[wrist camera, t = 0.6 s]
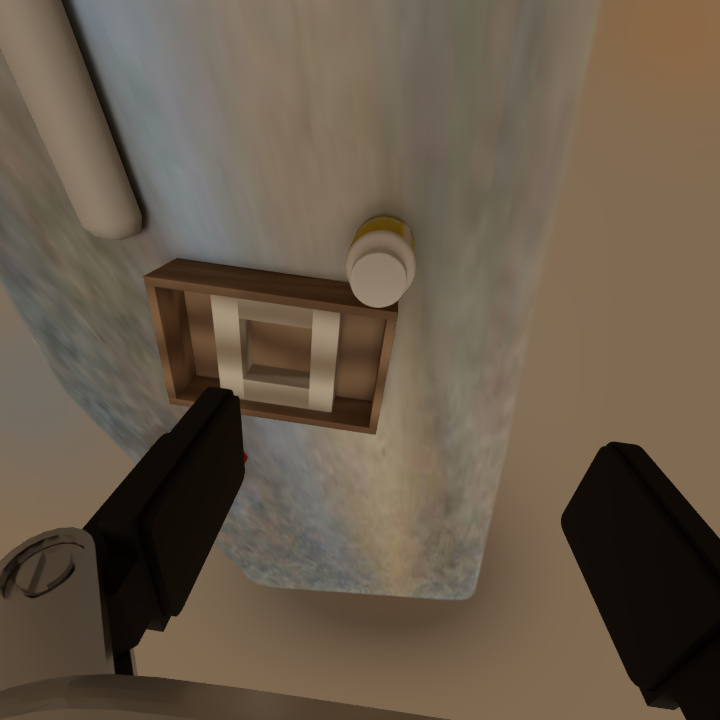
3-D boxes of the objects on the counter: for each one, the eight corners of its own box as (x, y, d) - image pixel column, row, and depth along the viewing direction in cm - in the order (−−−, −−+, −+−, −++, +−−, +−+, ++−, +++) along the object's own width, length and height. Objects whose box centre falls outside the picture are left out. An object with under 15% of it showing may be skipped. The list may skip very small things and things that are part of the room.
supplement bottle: (342, 240, 33) (323, 274, 25) (389, 200, 31) (385, 222, 23) (379, 285, 35) (372, 330, 27) (425, 250, 33) (434, 287, 25)
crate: (176, 258, 36) (143, 276, 31) (398, 289, 35) (398, 312, 31) (194, 375, 43) (169, 403, 38) (378, 402, 43) (375, 434, 38)
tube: (144, 242, 31) (-49, -258, 18) (77, 251, 31) (-174, -266, 18) (159, 230, 36) (12, -179, 23) (101, 238, 35) (-85, -182, 22)
